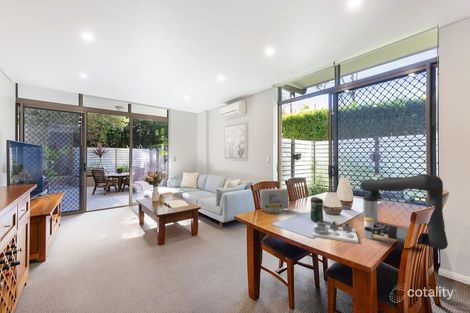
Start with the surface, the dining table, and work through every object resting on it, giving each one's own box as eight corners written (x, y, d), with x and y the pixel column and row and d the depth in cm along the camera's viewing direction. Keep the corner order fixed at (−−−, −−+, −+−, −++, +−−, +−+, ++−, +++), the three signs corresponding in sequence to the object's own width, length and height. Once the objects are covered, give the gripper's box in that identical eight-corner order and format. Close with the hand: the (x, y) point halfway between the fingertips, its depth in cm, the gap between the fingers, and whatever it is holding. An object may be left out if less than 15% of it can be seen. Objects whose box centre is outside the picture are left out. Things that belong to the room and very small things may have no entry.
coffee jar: (325, 222, 158) (325, 198, 158) (316, 223, 157) (315, 199, 156) (317, 218, 168) (317, 196, 167) (309, 219, 166) (308, 196, 166)
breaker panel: (314, 225, 151) (314, 217, 151) (354, 231, 140) (354, 221, 140) (312, 236, 133) (312, 226, 133) (358, 243, 122) (358, 232, 122)
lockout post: (363, 235, 133) (363, 217, 133) (373, 236, 131) (373, 218, 131) (364, 238, 128) (364, 219, 128) (374, 239, 126) (374, 220, 126)
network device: (286, 208, 197) (286, 188, 197) (289, 211, 188) (289, 190, 188) (260, 209, 195) (260, 189, 195) (262, 212, 187) (261, 190, 186)
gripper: (400, 224, 124) (368, 218, 136) (396, 230, 114) (363, 223, 125) (400, 236, 124) (368, 229, 136) (396, 243, 114) (363, 235, 126)
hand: (366, 226), depth 131 cm, fingers open, 8 cm apart
